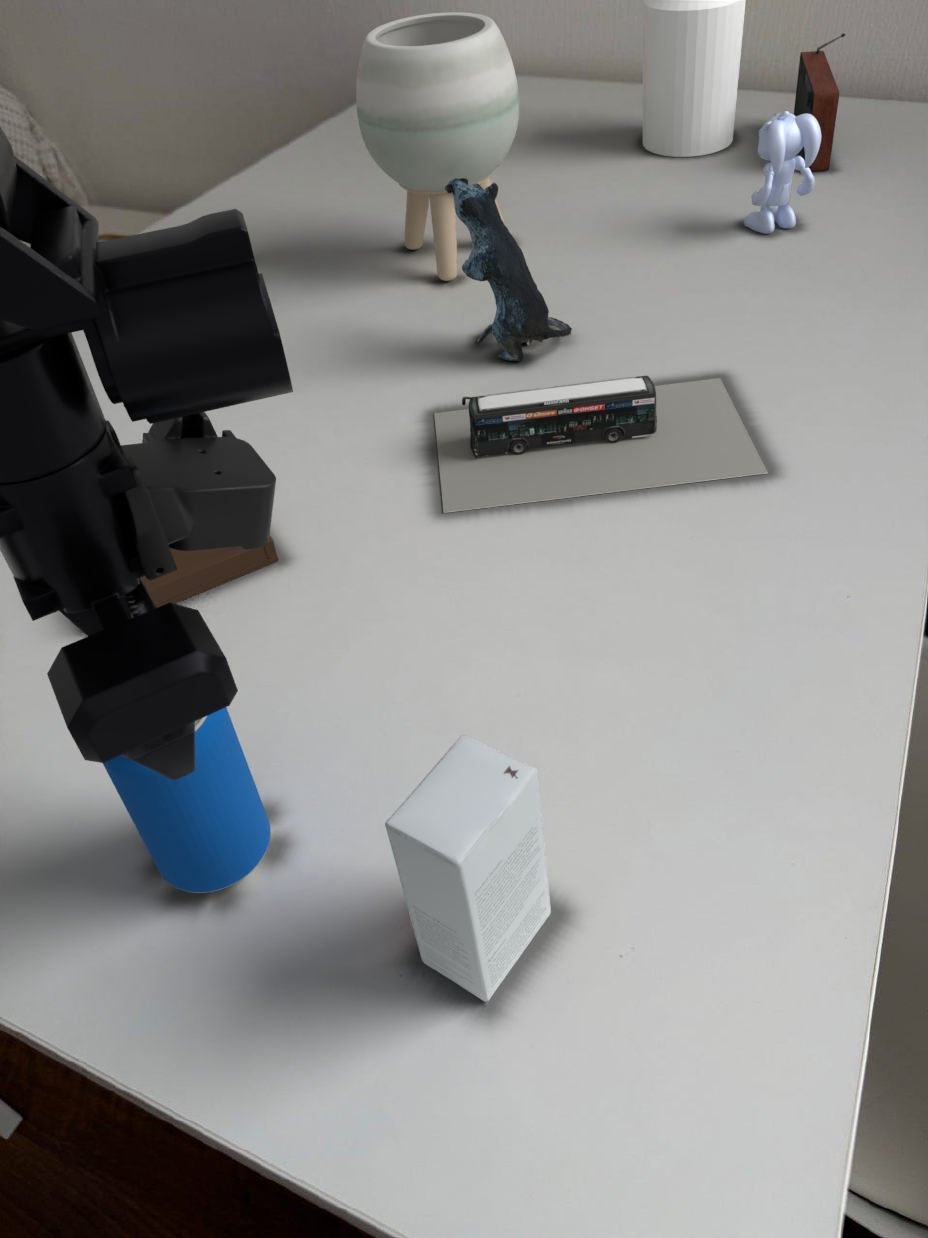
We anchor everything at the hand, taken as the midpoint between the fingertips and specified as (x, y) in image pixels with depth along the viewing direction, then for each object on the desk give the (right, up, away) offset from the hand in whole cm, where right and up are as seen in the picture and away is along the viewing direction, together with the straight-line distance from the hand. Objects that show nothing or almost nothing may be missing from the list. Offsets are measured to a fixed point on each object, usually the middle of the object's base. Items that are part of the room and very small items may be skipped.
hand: (154, 712), depth 51 cm
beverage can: (+1, -9, +8) cm, 12 cm away
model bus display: (+26, +19, +34) cm, 47 cm away
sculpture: (+20, +30, +48) cm, 60 cm away
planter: (+14, +44, +63) cm, 78 cm away
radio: (+57, +62, +76) cm, 113 cm away
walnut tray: (-7, +9, +28) cm, 31 cm away
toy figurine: (+48, +47, +61) cm, 91 cm away
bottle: (+44, +66, +82) cm, 114 cm away
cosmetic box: (+16, -12, +2) cm, 20 cm away
